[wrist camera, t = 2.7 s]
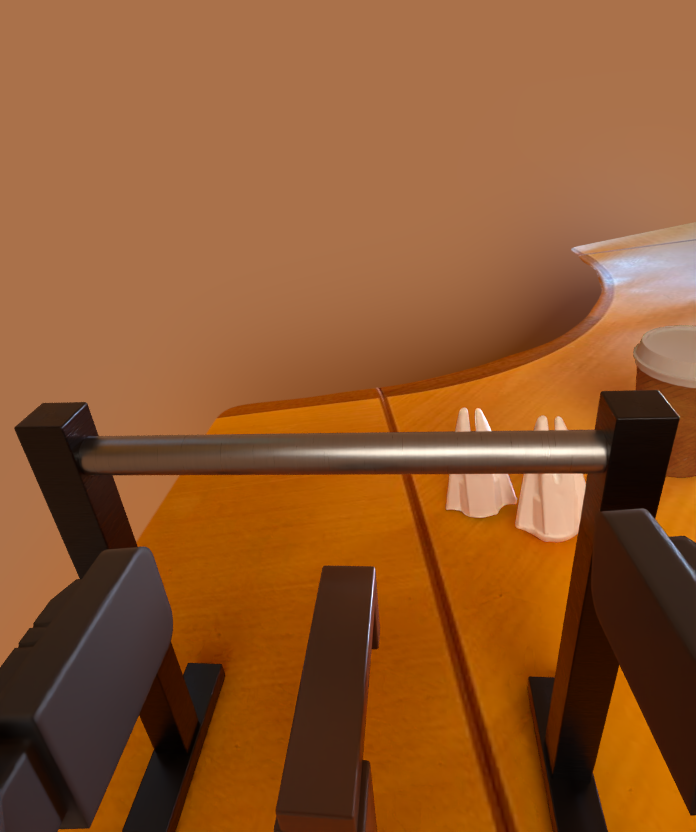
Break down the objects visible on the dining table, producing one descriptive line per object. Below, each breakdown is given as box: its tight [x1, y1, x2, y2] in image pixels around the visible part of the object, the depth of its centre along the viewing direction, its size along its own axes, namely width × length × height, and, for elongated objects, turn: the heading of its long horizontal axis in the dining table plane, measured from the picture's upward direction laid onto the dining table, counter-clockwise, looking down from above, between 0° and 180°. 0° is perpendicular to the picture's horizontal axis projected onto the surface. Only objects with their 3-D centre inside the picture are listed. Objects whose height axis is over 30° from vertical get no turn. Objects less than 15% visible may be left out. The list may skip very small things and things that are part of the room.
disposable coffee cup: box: [633, 325, 696, 477], centre depth 52 cm, size 10×10×12 cm
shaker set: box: [446, 408, 586, 542], centre depth 46 cm, size 12×4×11 cm, turn 51°
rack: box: [15, 390, 680, 832], centre depth 27 cm, size 24×10×23 cm, turn 84°
